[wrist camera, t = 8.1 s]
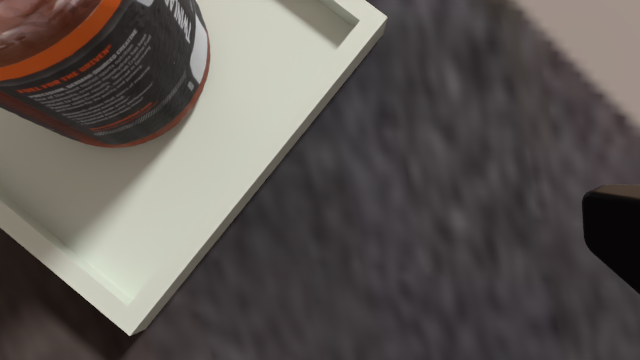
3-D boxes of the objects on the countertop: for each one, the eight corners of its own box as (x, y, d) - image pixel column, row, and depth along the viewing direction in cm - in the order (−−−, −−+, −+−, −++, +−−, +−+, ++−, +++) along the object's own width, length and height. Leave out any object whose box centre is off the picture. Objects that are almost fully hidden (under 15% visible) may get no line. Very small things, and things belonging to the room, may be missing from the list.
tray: (383, 35, 20) (387, 17, 18) (145, 329, 19) (129, 336, 17) (104, -175, 21) (88, -208, 19) (-136, 94, 20) (-174, 82, 18)
